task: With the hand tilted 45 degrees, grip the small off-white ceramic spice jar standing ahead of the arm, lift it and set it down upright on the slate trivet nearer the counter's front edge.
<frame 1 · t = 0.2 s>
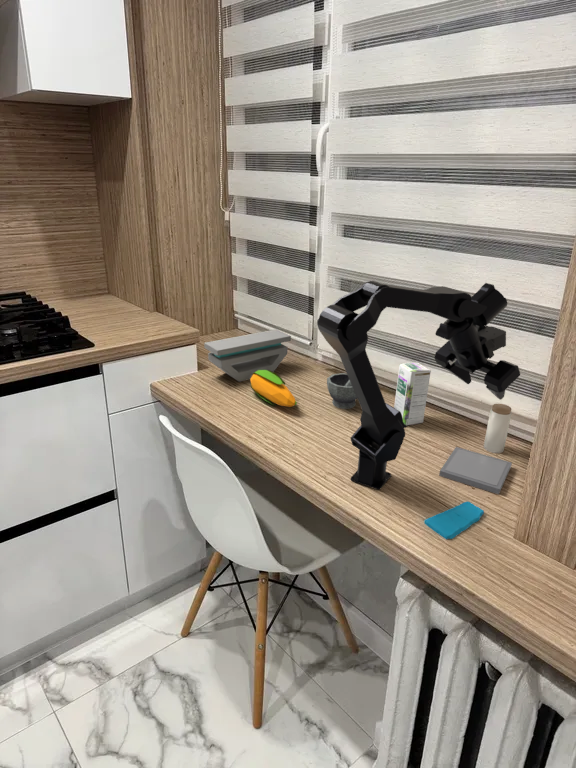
hand: (485, 390, 117), 14 cm above the countertop, tool tilted 35°, fingers open, 9 cm apart
slate trivet: (475, 471, 112), on the countertop
sponge: (457, 523, 97), on the countertop
syrup box: (407, 420, 134), on the countertop
spice jar: (493, 448, 122), on the countertop
corn: (274, 401, 143), on the countertop
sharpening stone: (248, 374, 160), on the countertop
mortar and pestle: (345, 405, 141), on the countertop
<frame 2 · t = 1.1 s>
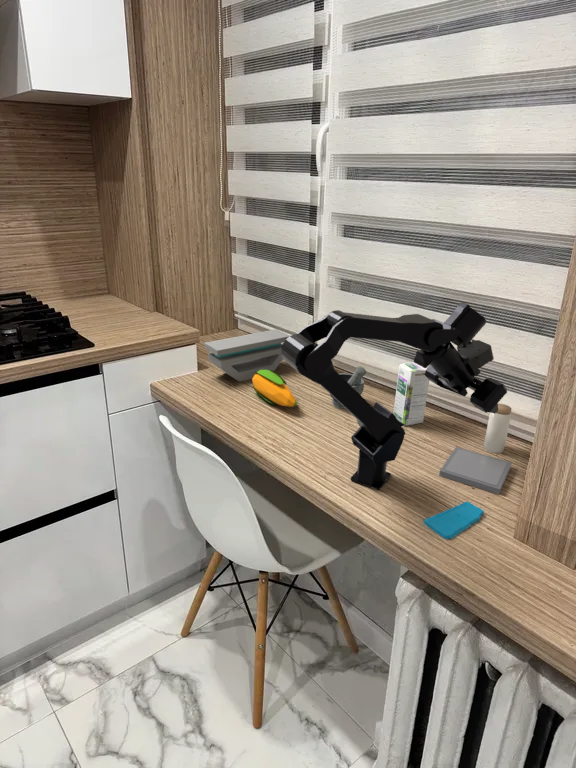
hand: (480, 402, 114), 13 cm above the countertop, tool tilted 45°, fingers open, 9 cm apart
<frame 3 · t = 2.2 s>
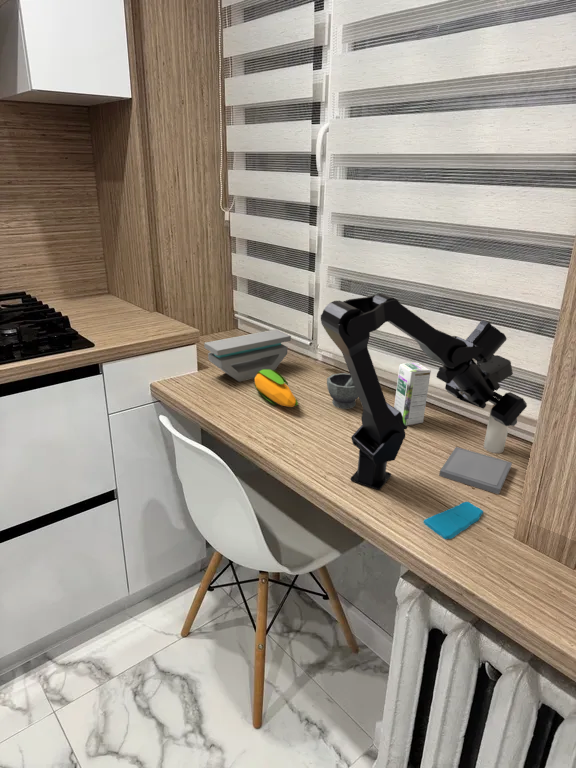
hand: (499, 415, 118), 9 cm above the countertop, tool tilted 45°, fingers open, 9 cm apart
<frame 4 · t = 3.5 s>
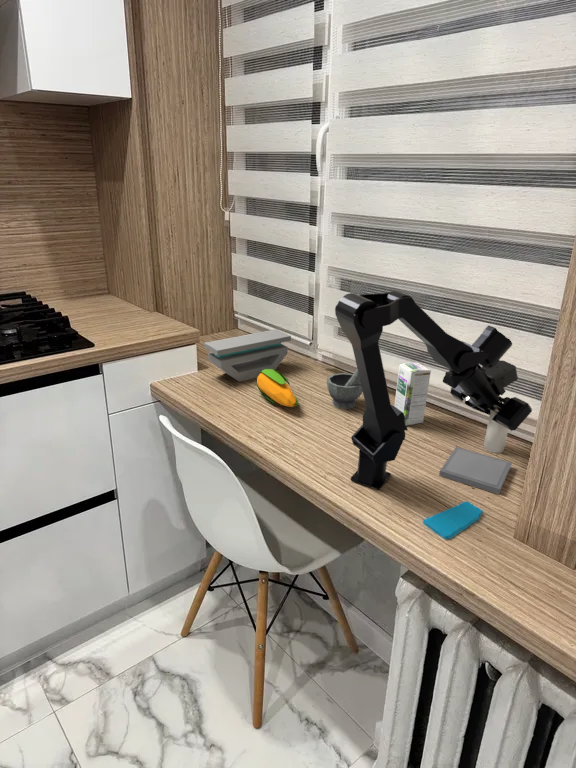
hand: (503, 419, 120), 7 cm above the countertop, tool tilted 45°, fingers closed on spice jar, 4 cm apart
spice jar: (493, 448, 122), on the countertop, touching gripper
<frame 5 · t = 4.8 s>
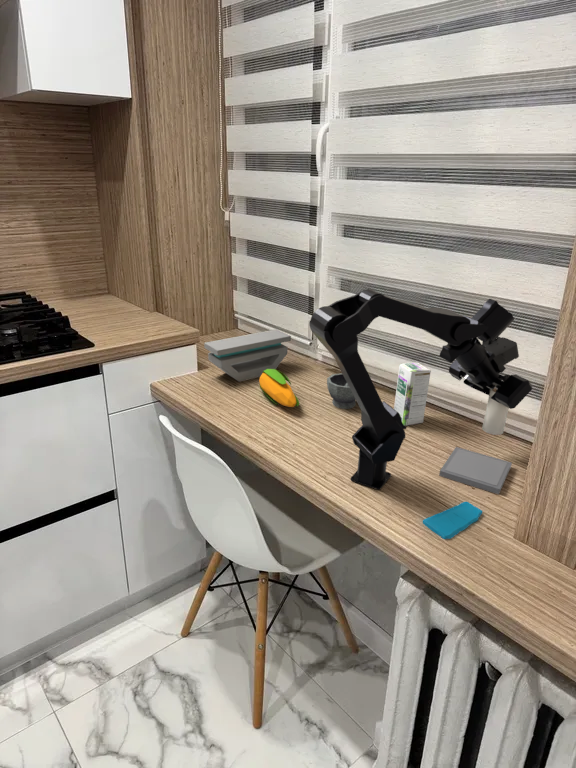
hand: (503, 400, 115), 13 cm above the countertop, tool tilted 45°, fingers closed on spice jar, 4 cm apart
spice jar: (492, 430, 117), point 6 cm above the countertop, touching gripper
when the fingers open (9 cm above the countertop, at t = 6.5 s): spice jar stays where it is, resting on slate trivet.
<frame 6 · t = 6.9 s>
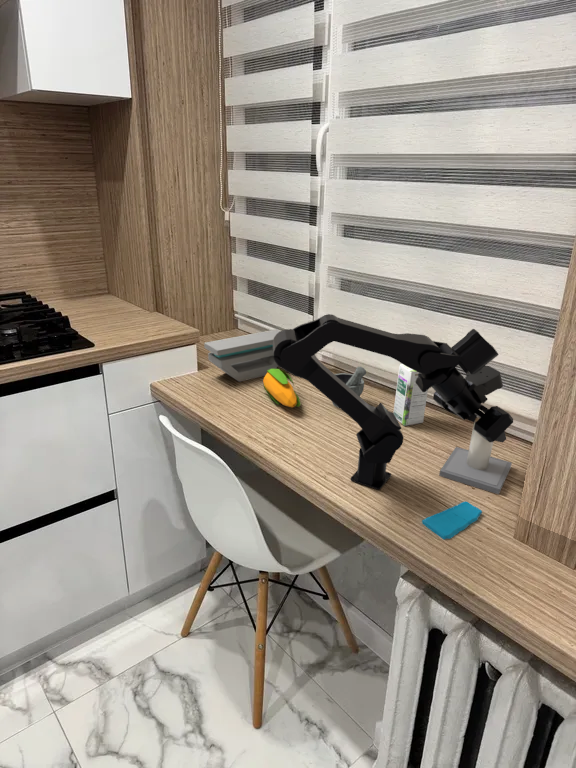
hand: (489, 430, 110), 9 cm above the countertop, tool tilted 45°, fingers open, 9 cm apart
spice jar: (477, 464, 113), point 1 cm above the countertop, touching slate trivet
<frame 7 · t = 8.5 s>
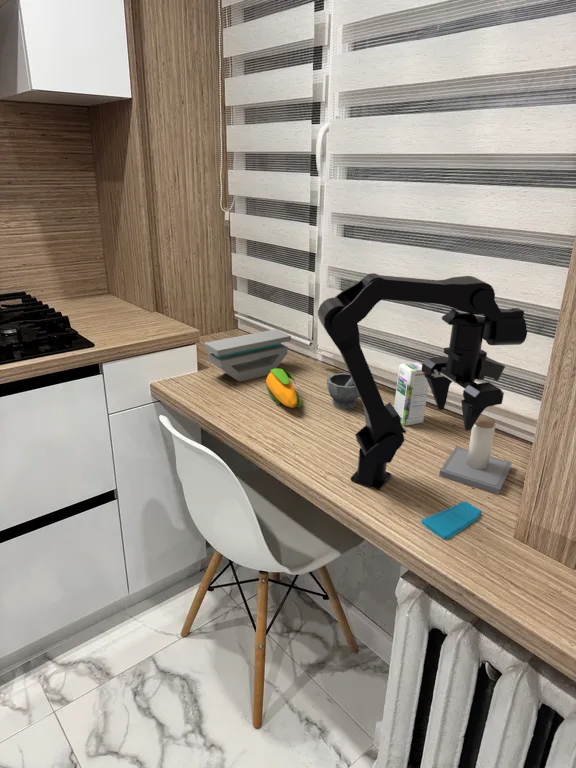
hand: (453, 419, 106), 13 cm above the countertop, tool pointing down, fingers open, 9 cm apart
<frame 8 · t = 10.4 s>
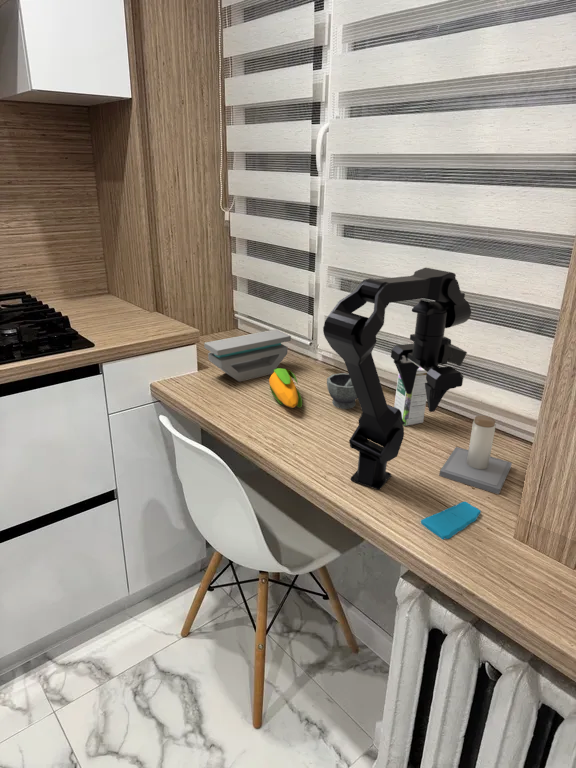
hand: (419, 402, 113), 13 cm above the countertop, tool pointing down, fingers open, 9 cm apart
at the end: spice jar inside the target area (0.5 cm from its centre), point 1.3 cm above the countertop; spice jar tilted 2°; the gripper is holding nothing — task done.
